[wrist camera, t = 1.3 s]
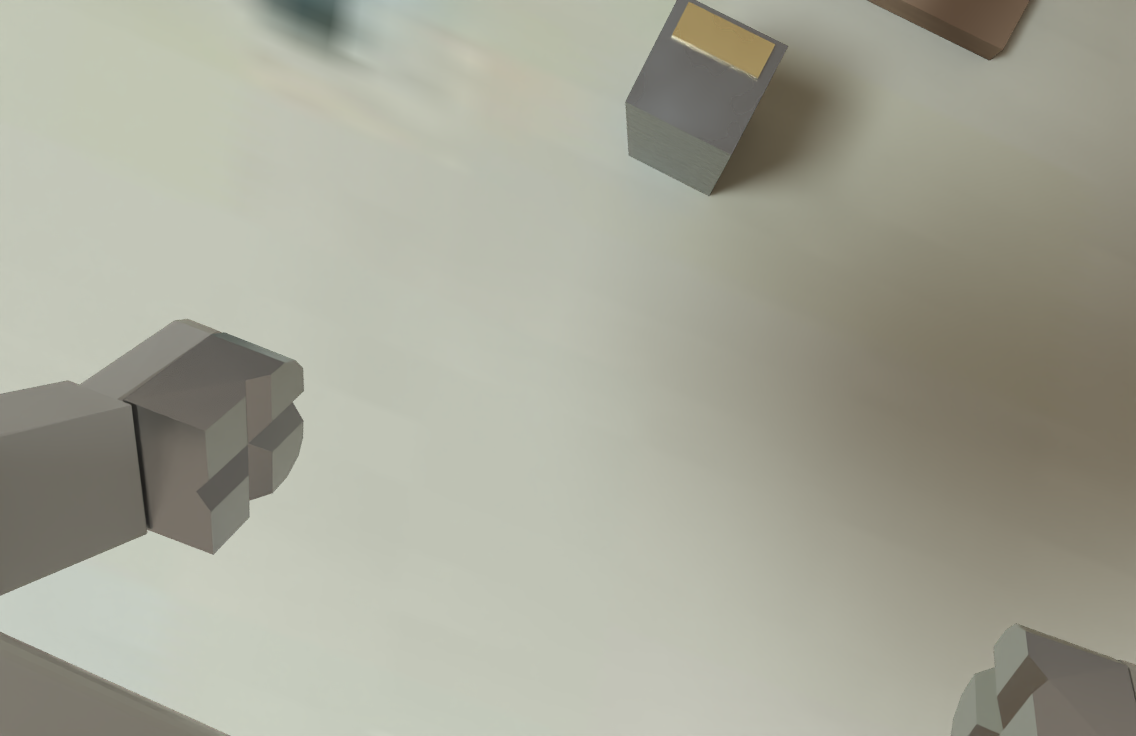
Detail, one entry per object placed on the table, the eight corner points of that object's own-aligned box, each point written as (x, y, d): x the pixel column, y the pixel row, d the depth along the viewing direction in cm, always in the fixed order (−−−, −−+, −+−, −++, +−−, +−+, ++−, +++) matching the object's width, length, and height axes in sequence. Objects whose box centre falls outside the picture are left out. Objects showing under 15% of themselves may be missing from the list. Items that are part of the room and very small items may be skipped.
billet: (628, 155, 41) (625, 100, 31) (670, 73, 41) (680, -10, 30) (708, 195, 41) (731, 154, 31) (751, 114, 40) (788, 44, 30)
